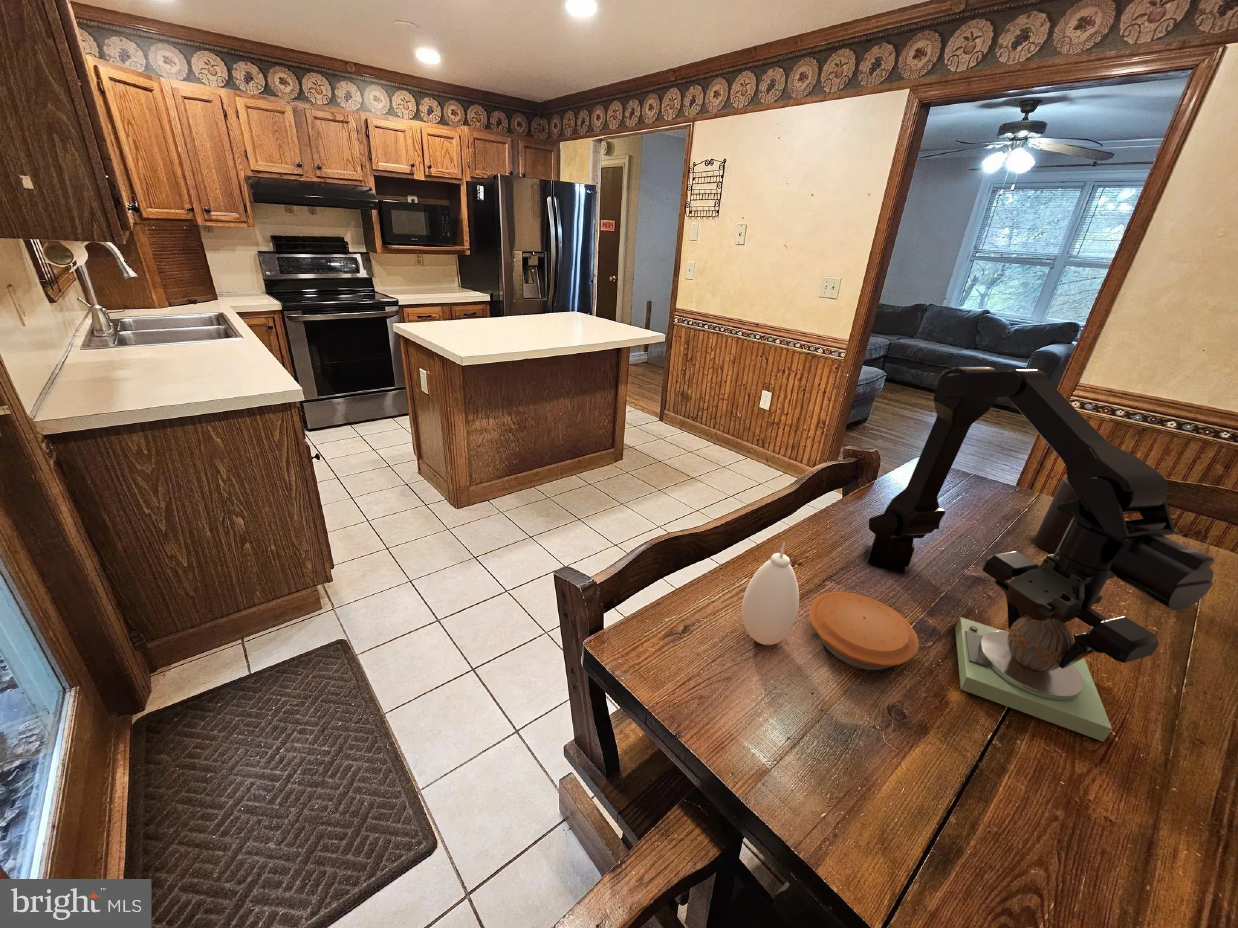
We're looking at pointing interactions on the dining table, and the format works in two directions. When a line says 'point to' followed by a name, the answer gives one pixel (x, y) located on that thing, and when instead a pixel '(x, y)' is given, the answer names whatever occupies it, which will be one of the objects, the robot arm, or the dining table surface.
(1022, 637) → the vase
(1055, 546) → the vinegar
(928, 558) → the dining table surface
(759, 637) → the sauce bottle
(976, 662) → the scale
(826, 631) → the pie
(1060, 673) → the scale pan
